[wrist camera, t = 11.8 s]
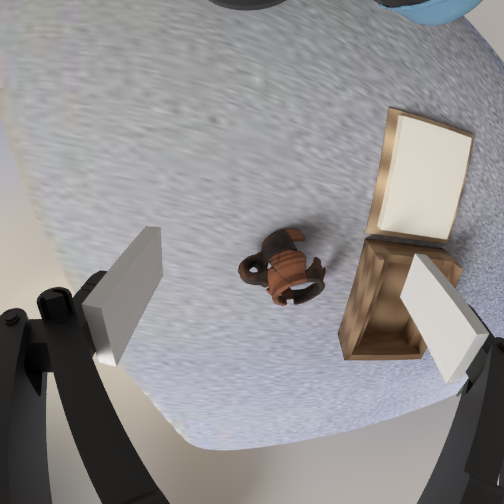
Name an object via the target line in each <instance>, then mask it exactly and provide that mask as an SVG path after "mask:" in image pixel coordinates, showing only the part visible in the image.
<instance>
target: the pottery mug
mask: <svg viewBox="0 0 504 504" xmlns="http://www.w3.org/2000/svg"><path fill="white" fill-rule="evenodd" d="M294 241H304V236H303V235H302V234H301V232H300V230H298V229H286V230H281V231H277V232H275V233H273V234H271V235H270V236H268V237H267V238H266V239H265V240H264V242H263V246H262V251H261V252H258V253H257V254H255V255H252V256H249V257H247V258H246V259H244V260H243V261H242V262H241V263H240V265H239V269H238V273H239V274H240V277H241V279H242V280H243V281H244V282H246V283H248V284H252V285H261V286H263V287H267V286H268V288H267V289H266V290H267V292H268V293H269V294H270V295H271V296H272V299H273V301H274V303H276V304H278V305H282V306H285V305H287V302H286V300H289V299H293V300H294V304H295V305H297V304H301V303H304V302H307V301H309V300H311V299H313V298H314V297H315V296H317V295H319V294H320V293H321V292H322V291H323V289H324V287H325V284H324V282H323V279H324V275H325V269H326V268H325V267H324V268H323V270H322V266H321V261H320V259H318V258H317V257H314V259H313V263H312V265H311V266H310V267H309V268H308V269H307V270H305V269H306V256H305V255H304V253H303V252H301V251H297V248H296V247H295V245H294V244H293V242H294ZM268 262H269V263H270V264H271V266H272V267H271V268H269V269H267V267H268ZM252 267H255V268H256V269H257V270H258V272H255V273H253V272H250V271H249V270H250V269H251V268H252ZM304 282H315V283H313V284H312V285H310V286H309V287H307V288H305V289H300V290H291V289H290V287H291V286H293V285H296V284H300V283H304ZM280 294H281V295H280Z"/></svg>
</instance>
